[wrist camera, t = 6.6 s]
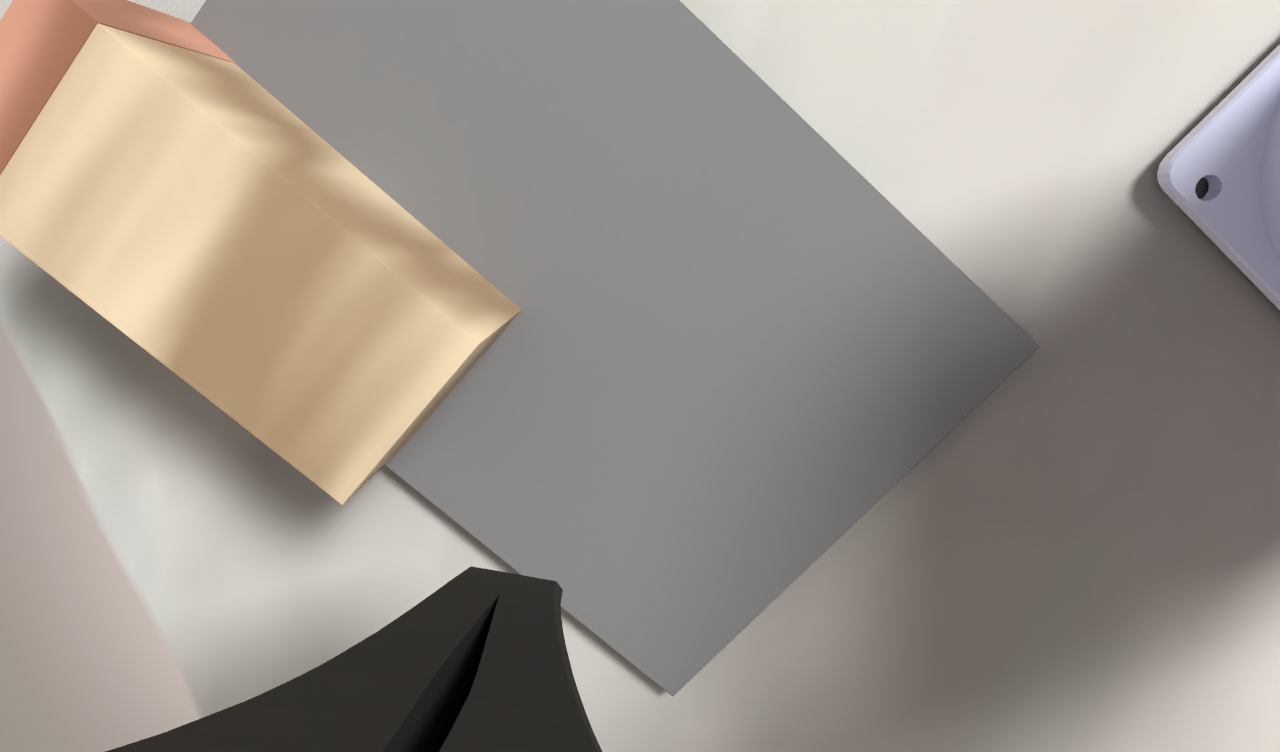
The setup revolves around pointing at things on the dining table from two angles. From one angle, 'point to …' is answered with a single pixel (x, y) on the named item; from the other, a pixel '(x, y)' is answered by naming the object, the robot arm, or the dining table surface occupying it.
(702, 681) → the dining table surface
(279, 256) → the birch block
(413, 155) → the rubber mat
